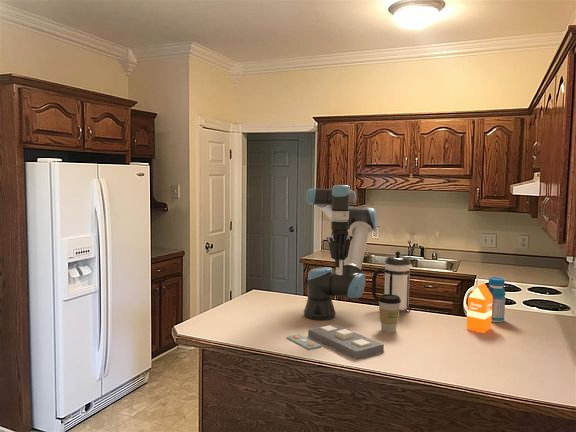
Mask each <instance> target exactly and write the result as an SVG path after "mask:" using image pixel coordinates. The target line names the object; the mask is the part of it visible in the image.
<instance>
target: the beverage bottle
mask: <svg viewBox="0 0 576 432" xmlns="http://www.w3.org/2000/svg"><path fill="white" fill-rule="evenodd" d="M488 285H489V287H487V288H488V290H489V291H490V293H491V295H492V296H493V297H492V318H491V323H492V322H494V323H502V322H504V321H505V308H506V290H505V288H504V287H505V279H504V278H503V277H497V276H495V277H494V276H492V277H489V278H488Z"/></svg>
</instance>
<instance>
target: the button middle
mask: <svg viewBox="0 0 576 432" xmlns="http://www.w3.org/2000/svg"><path fill="white" fill-rule="evenodd" d="M346 329H347V328H345V329H343V330H338V331H336V337H338V338H340V339H342V340H346V339H350V338H353V332H354V331H352V330H350V329H348V330H346ZM349 330H350V331H349ZM351 331H352V332H351Z"/></svg>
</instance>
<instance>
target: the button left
mask: <svg viewBox="0 0 576 432" xmlns="http://www.w3.org/2000/svg"><path fill="white" fill-rule="evenodd" d="M328 325H329V326H327V325H324V326H325V327H322V326H319V327H320V330H322V331H325V332H327V333H330V332H334V331H337V328H335V327H332V326H330V325H331V324H328Z"/></svg>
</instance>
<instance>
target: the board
mask: <svg viewBox="0 0 576 432" xmlns="http://www.w3.org/2000/svg"><path fill="white" fill-rule="evenodd" d="M329 325H330V326H332V327H335V328H337V331H338V330H343V329H346V330H349V331H351V332H353V338H350V339H346V340H342V339H340V338H338V337H336V331H334V332H330V333H327V332H325V331H322V330H320V327H325V326H329ZM307 331H308V332H307V336H308V337H309V338H310V339H313V340H316V341H317V342H319V343H321V344H323V345H325V346H328V347H329V348H331V349H334V350H336V351H338V352H340V353H342V354H344V355H346V356H348V357H350V358H351V359H354V360H358V359H362V358H368V357H371V356H374V355H378V354H381V353H384V351H385V350H384V349H385V347H384V345H385V344H383V343H381V342H379V341H376V340H374V339H372V338H370V337H367V336H364V335H362V334H360V333H358V332H356V331H355V332H354V331H352V330H351V329H347V328H346V327H343V326H341V325H338V324H336V323H332V324H328V325H322V326H318V327H312V328H309V329H308V330H307ZM360 339H363V340H365V341H368V342H370V343H371V345H370V346H366V347H362V348H360V347H358V346H356V345H354V344H352V341H355V340H360Z"/></svg>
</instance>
